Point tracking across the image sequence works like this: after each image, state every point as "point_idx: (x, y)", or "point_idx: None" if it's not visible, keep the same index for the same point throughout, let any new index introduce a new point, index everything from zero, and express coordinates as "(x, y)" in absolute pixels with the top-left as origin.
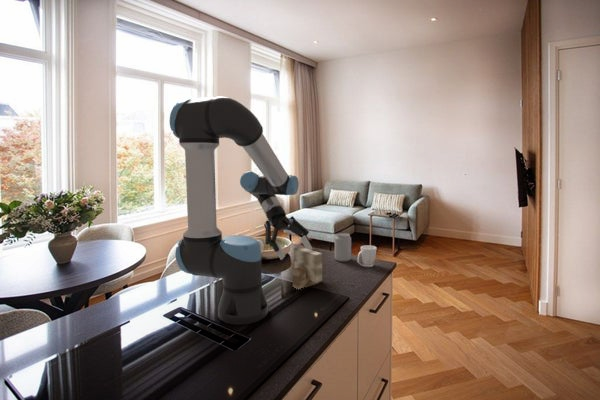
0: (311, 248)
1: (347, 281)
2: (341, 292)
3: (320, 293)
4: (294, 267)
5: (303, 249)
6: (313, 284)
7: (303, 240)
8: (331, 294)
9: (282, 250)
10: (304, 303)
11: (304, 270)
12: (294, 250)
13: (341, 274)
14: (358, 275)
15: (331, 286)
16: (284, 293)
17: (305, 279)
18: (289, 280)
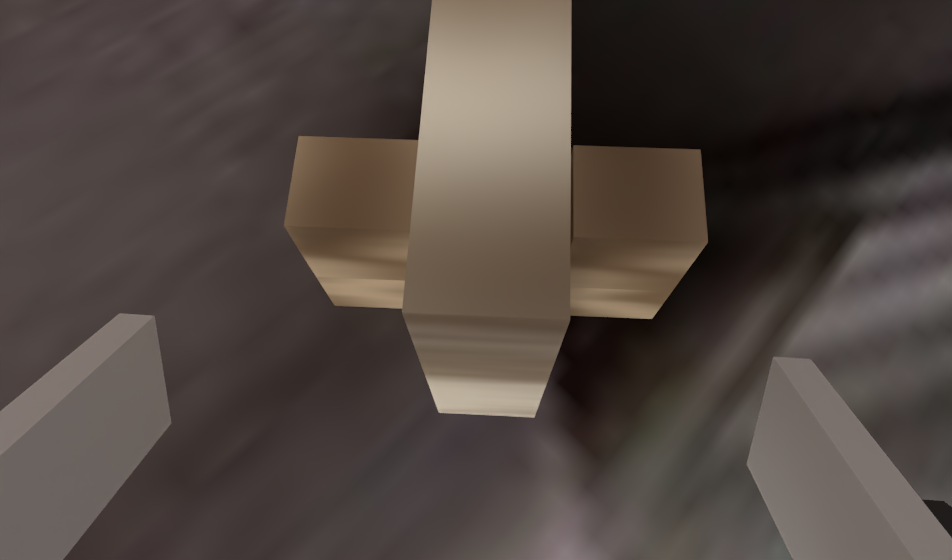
0: (134, 320)
1: (195, 94)
2: (420, 3)
3: None
4: (540, 399)
5: (499, 137)
6: None
7: (2, 557)
8: None
9: (824, 422)
10: (767, 52)
11: (595, 153)
12: (563, 327)
13: (67, 227)
14: (5, 112)
15: (378, 114)
16: (792, 276)
17: None
18: (555, 488)
